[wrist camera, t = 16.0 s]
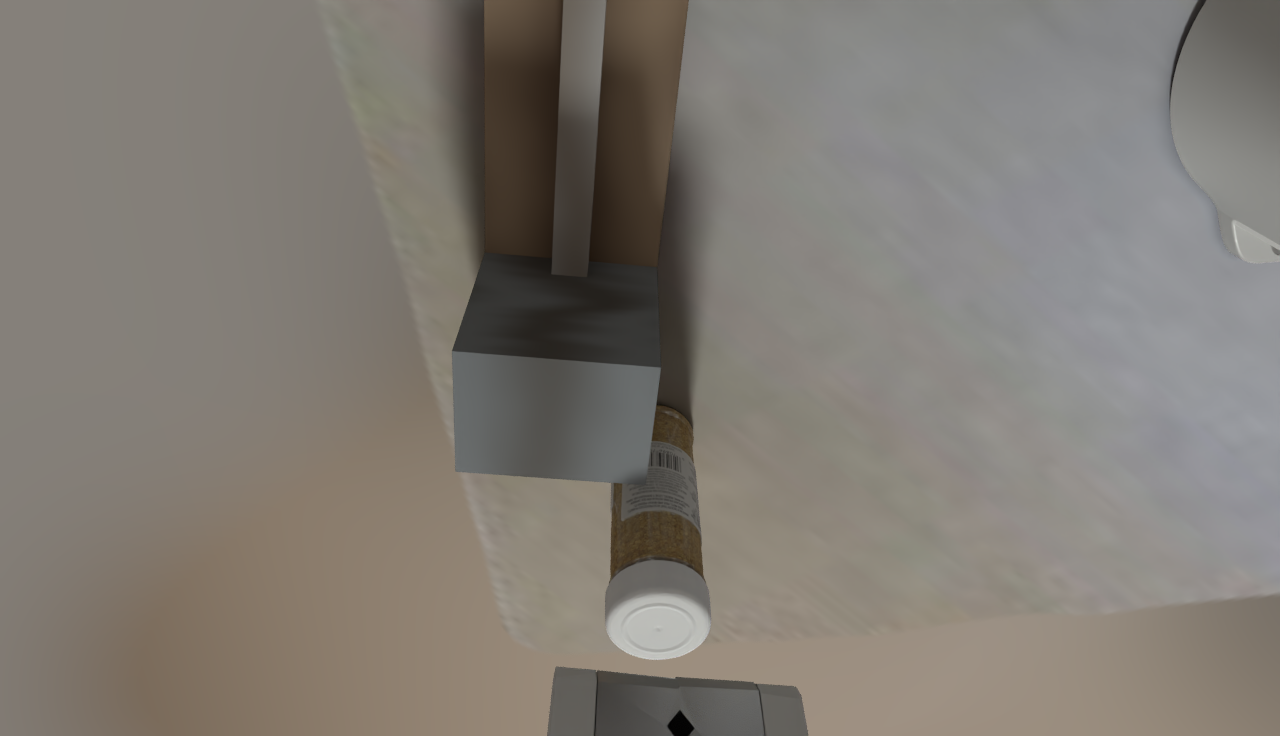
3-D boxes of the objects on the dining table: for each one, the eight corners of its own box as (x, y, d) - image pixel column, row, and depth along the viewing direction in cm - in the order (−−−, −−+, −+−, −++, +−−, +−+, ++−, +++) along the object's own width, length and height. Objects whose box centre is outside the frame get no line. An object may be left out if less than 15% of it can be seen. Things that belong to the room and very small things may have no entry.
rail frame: (765, -676, 25) (827, -906, 17) (644, 357, 45) (645, 485, 37) (489, -716, 25) (414, -972, 17) (489, 344, 45) (455, 471, 36)
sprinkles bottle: (600, 452, 49) (589, 650, 37) (629, 390, 46) (627, 581, 35) (675, 475, 50) (686, 674, 38) (708, 415, 47) (730, 609, 36)
